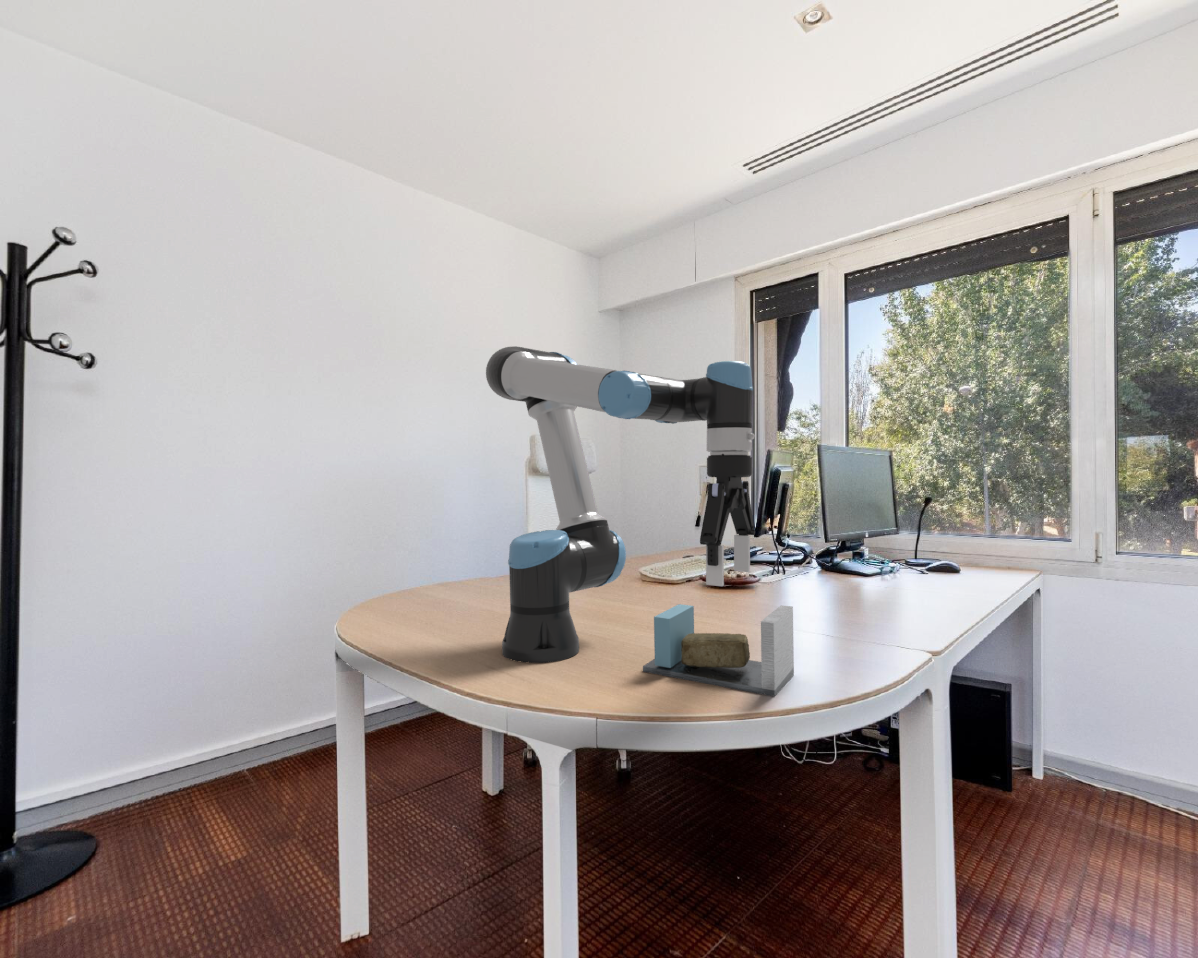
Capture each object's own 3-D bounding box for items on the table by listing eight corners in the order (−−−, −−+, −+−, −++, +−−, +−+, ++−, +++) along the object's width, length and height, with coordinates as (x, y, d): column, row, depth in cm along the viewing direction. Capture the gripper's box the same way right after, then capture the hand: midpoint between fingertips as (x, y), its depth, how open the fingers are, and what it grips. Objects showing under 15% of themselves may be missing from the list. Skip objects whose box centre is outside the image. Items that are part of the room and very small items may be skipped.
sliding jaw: (654, 665, 101) (653, 616, 101) (679, 648, 110) (678, 604, 110) (670, 667, 100) (669, 618, 99) (694, 650, 109) (693, 605, 108)
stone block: (748, 670, 95) (745, 640, 96) (679, 669, 99) (677, 640, 99) (751, 659, 101) (748, 630, 101) (686, 658, 105) (684, 631, 105)
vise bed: (642, 674, 102) (641, 606, 101) (671, 655, 112) (670, 593, 112) (774, 700, 89) (773, 623, 89) (793, 675, 100) (792, 606, 99)
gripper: (725, 453, 86) (725, 594, 87) (771, 454, 107) (771, 568, 108) (678, 453, 90) (679, 589, 91) (732, 454, 111) (732, 564, 112)
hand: (729, 578), depth 99 cm, fingers open, 13 cm apart
